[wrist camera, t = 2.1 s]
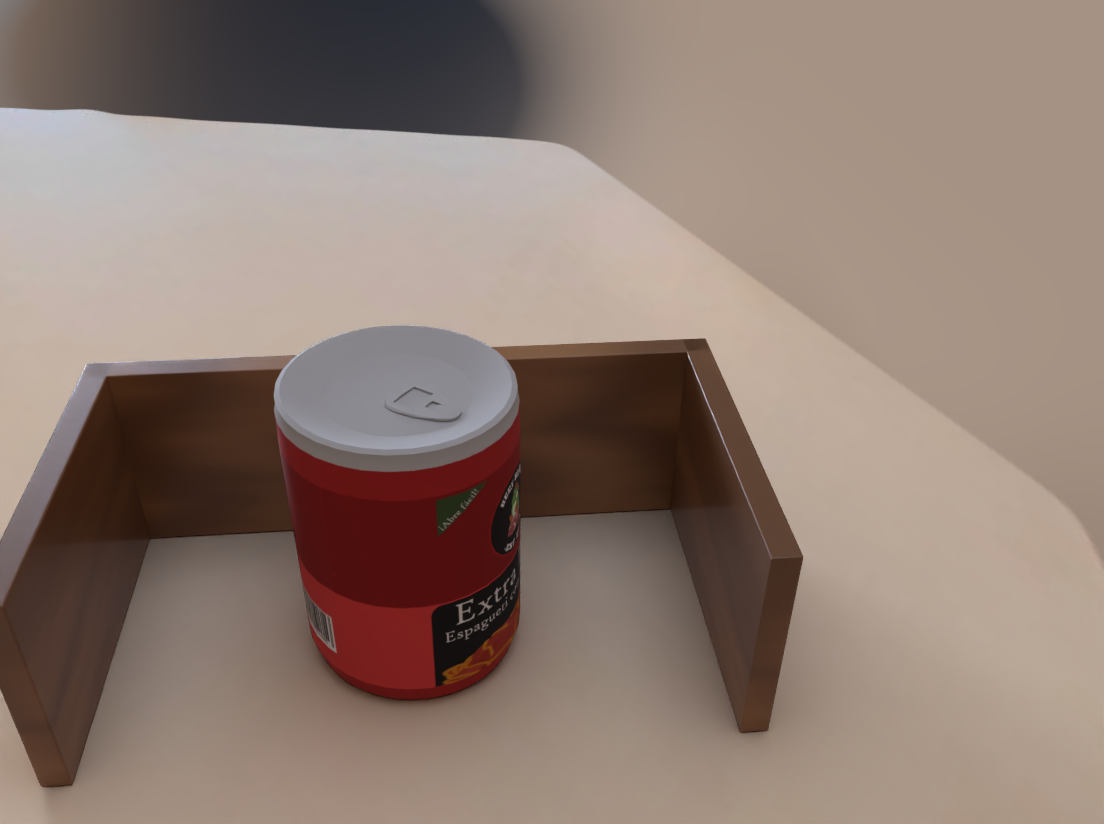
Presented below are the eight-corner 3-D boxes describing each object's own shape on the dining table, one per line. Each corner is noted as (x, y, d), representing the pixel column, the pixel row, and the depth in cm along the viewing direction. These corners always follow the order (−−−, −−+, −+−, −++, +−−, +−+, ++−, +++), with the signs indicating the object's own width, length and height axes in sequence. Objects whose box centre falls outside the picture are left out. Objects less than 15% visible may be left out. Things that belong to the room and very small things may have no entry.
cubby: (687, 493, 47) (705, 337, 42) (768, 730, 36) (804, 556, 31) (130, 524, 44) (86, 363, 40) (40, 787, 34) (-35, 608, 29)
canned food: (480, 730, 36) (471, 475, 29) (271, 675, 38) (221, 425, 31) (546, 581, 42) (551, 344, 36) (364, 540, 44) (337, 307, 37)
